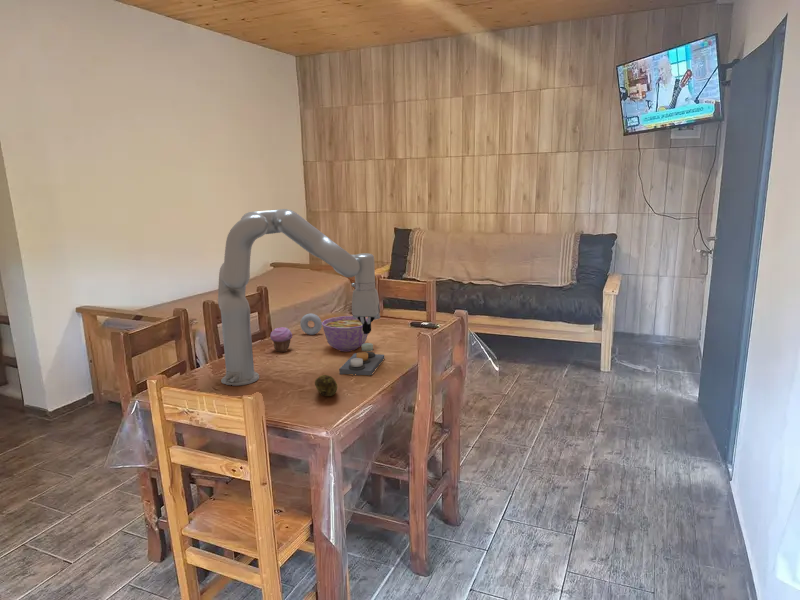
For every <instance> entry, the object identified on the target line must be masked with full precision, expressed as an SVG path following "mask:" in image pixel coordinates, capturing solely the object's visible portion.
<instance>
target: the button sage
mask: <svg viewBox="0 0 800 600" xmlns="http://www.w3.org/2000/svg"><path fill="white" fill-rule="evenodd" d="M373 351H374V344H373V343H371V342H365V343H364V344H362V346H361V352H373Z"/></svg>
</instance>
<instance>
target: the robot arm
mask: <svg viewBox="0 0 800 600" xmlns="http://www.w3.org/2000/svg"><path fill="white" fill-rule="evenodd" d="M280 233H282V234H283V235H285V236H286V237H288V238H289V239H290V240H292V242H294V243H295V244H297V245H299V246H300V247H301V248H302V249H303V250H305V251H306V252H308V253H309V254H310V255H312V256H313V257H315V258H319V259H320V260H322V261H324V262H325V263H326V264H328V266H330V267H332V269H333V270H334V271H335V272H336V273H337V274H339V275H341V276H343V277H345V278H353V277H354V282H353V283H351V287H354V290H353V291H352V297H351V298H352V299H351V314H352V316H353V318H355V319H358V320H359V321H360V322H361V323H362V327H363V331H364V334H368V335H369V334H370V333H371V332H372V323H373V321H376V320H379V319H380V318H381V315H380V312H381V306H380V305H381V304H380V298H379V297H380V296H379V293H378V290H377V288H376V270H375V256H374V254H373V253H367V252H366V253H362V252H361V253H357V254H352V253H349V252H348V251H347V250H346V249H344V248H342V247H341V246H340V245H338V244H337V242H334V241H333V240H332V239H331V238H330V237H329V236H327V235H325V234H324V233H323V232H322V231H320V230H319V229H318V228H317V227H315V226H314V225H312V224H311V223H310V222H309V221H308V220H306V218H304V217H302V216H301V215H300V214H298V213H297V212H296V211H293V210H292V209H287V208H280V209H272V210H271V209H270V210H260V211H259V210H257V211H248V212H246V213H245V214H243V215H242V216H241V218H240V220H238V221H237V222H236V223H235V224H233V226H232V228H230V230H229V232H228V233H227V236H226V240H225V249H224V259H223V260H224V261H223V263H222V264H221V265H220V268H219V272H218V273H219V274H218V285H217V286H218V288H217V289H218V290H217V304H218V308H219V310H220V316H221V317H220V318H221V330H222V331H221V332H222V340H223V342H222V343H223V350H224V360H225V362H224V363H225V375H224V376H223V377H222V379H220V382H221V383H222V384H224V385H227V386H231V385H232V386H239V387H240V386H245V385H249V384H252V383H254V382H256V381H258V380H260V374H259V373H258V372H257V371H255V367H254V365H255V364H254V354H253V353H254V352H253V343H252V342H253V341H252V329H251V307H250V303H249V301H248V299H247V297H246V288H247V287H246V286H247V285H248V283H249V282H250V276H251V275H250V274H251V256H252V248H253V245H254V242H255V241H256V240H257V239H259V238H261V237H264V236H265V235H271V234H272V235H273V234H280ZM366 318H367V321H366Z"/></svg>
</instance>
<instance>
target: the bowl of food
mask: <svg viewBox="0 0 800 600" xmlns="http://www.w3.org/2000/svg"><path fill="white" fill-rule="evenodd" d="M367 319H368V317H366V321H367ZM321 322H322V328H323V332H324V336H325V339H326V340H327V344H328V345H329V346H330V347H332V348H333V349H336V350H337V351H339V350H340V352H352V351H351V350H353V351H356V350H357V349H359V348H361V347H362V344H364V343H366V341H367V339H368V335H369V334H364V331H363V327H362V323H361V322H360V321H359V320H358V319H355V318H353V315H352V316H351V315H344V316H343V315H342V316H335V317H330V318H327V319H324V320H323V321H321ZM355 349H356V350H355Z"/></svg>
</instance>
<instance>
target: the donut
mask: <svg viewBox="0 0 800 600" xmlns="http://www.w3.org/2000/svg"><path fill="white" fill-rule="evenodd" d="M299 322H300V324H299V327H300V328H301V330H302V331H303V333H305V334H307V335H311V336H312V335H316V334H319V332H320V331H321V330H322V328H323V326H322V322H323V321H322V319H321V318H320V316H319V315H317V314H315V313H311V312H310V313H307V314H305V315H303V316H302V317H301V318H300V321H299ZM309 322H312V323H313V324H314V325H313V327H311V326H309V324H308V323H309Z"/></svg>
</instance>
